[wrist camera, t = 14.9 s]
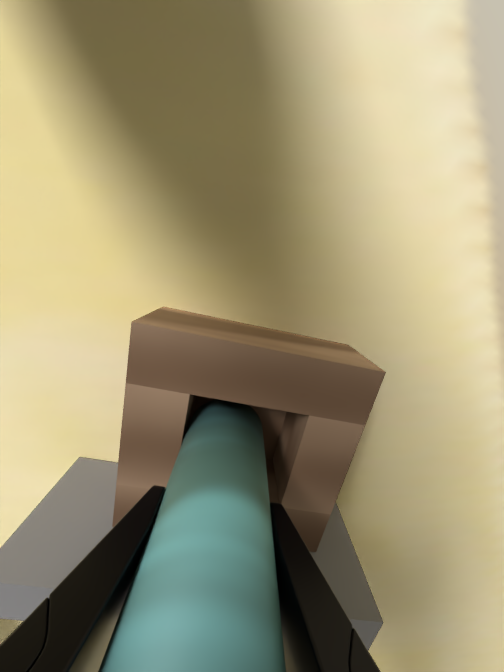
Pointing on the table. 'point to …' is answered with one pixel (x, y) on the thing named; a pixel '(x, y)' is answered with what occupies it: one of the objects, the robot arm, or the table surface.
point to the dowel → (207, 560)
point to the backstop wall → (96, 521)
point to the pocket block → (254, 390)
